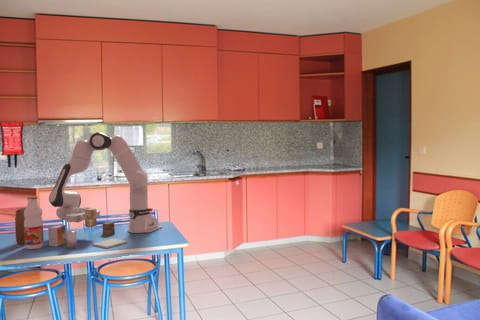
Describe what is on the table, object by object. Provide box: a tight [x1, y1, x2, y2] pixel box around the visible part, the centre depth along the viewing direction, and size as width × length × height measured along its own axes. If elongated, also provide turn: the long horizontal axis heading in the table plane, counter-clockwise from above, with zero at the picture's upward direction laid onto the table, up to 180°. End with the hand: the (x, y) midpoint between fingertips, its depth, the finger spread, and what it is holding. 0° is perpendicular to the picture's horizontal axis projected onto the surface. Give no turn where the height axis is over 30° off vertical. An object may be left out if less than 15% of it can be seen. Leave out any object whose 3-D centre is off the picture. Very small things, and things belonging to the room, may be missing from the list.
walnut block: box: [102, 221, 116, 236], centre depth 258 cm, size 5×5×7 cm
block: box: [14, 207, 26, 246], centre depth 238 cm, size 11×8×20 cm
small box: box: [47, 224, 67, 247], centre depth 233 cm, size 8×6×10 cm
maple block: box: [84, 207, 98, 228], centre depth 242 cm, size 4×4×10 cm
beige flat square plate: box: [92, 238, 128, 250], centre depth 233 cm, size 14×12×1 cm
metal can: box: [66, 230, 78, 250], centre depth 226 cm, size 5×5×9 cm
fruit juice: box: [24, 195, 45, 250], centre depth 228 cm, size 9×9×28 cm
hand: (91, 217), depth 241 cm, fingers closed on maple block, 4 cm apart
